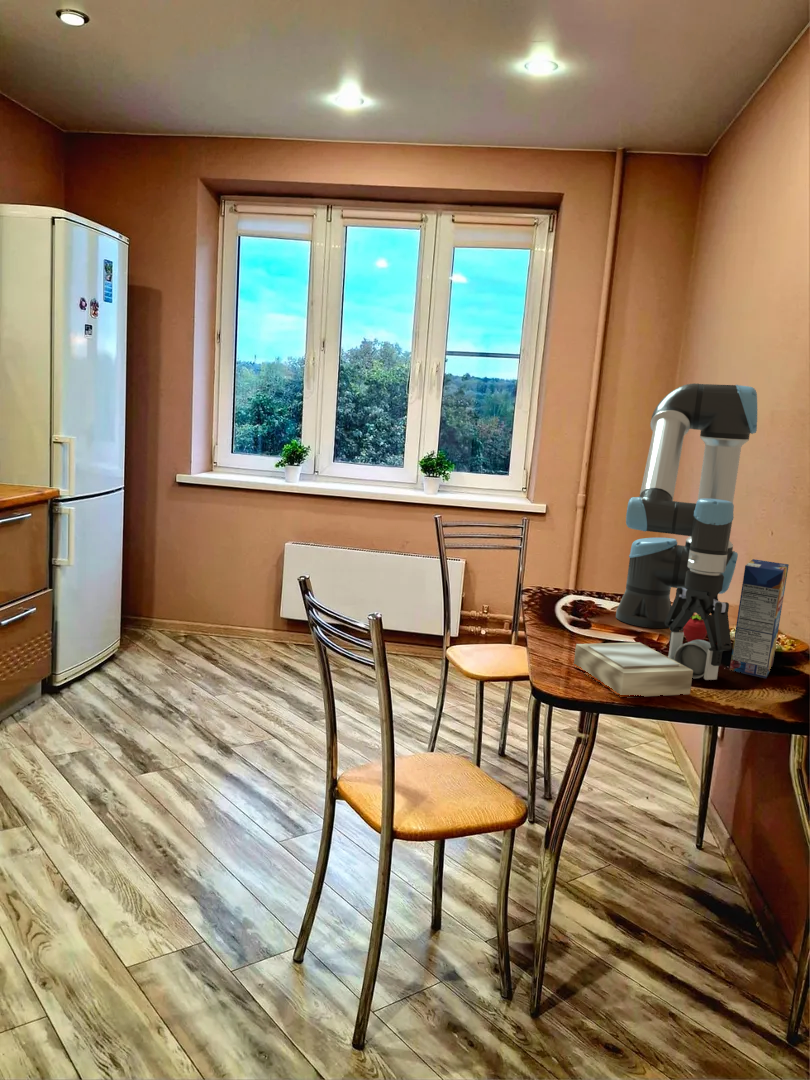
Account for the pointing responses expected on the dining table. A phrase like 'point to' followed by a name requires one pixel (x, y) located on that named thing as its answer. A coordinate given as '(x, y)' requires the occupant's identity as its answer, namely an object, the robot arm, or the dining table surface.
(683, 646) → the ceramic mug
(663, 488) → the robot arm
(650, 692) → the cream flat rectangular piece
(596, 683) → the dining table surface
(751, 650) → the juice carton
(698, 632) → the strawberry
